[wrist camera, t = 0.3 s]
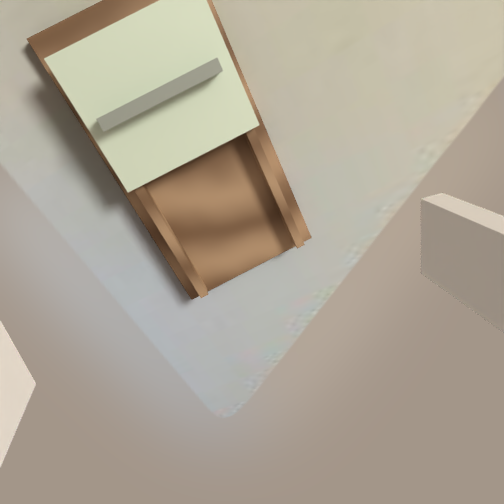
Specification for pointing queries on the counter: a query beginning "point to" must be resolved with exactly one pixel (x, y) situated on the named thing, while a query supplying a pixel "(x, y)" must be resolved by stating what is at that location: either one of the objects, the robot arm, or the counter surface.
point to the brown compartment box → (201, 182)
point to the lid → (155, 89)
